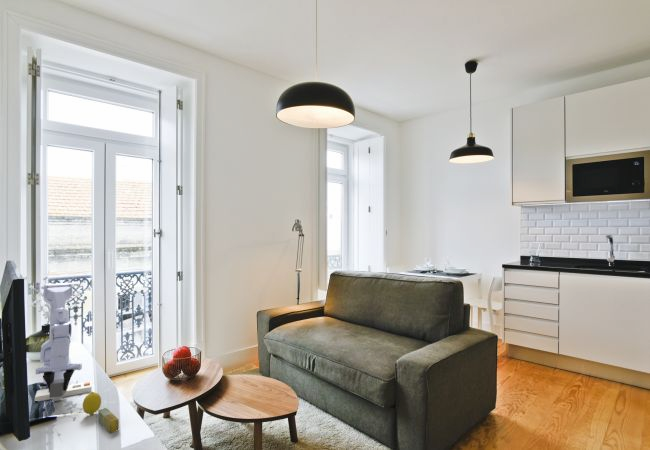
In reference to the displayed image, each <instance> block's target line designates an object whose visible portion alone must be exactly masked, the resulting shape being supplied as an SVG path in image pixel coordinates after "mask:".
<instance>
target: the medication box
mask: <svg viewBox="0 0 650 450" xmlns="http://www.w3.org/2000/svg"><path fill="white" fill-rule="evenodd" d="M97 412H98V414H97V415H98V422H99V423H100V424H101V426H103V428H105V429H106V430H107V432H109V433H110V434H111V433H114V431H115V432H117V431H116V430H118V429H119V430H120V428H119V427H120V426H119V425H120V423H119V422H120V421H119V418H118V417H117V416H116V415H115V414H114V413H113V412H112V411H111V410H110V409H108V408H107V407H103V408H101V409H98V411H97ZM119 430H118V431H119Z"/></svg>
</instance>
